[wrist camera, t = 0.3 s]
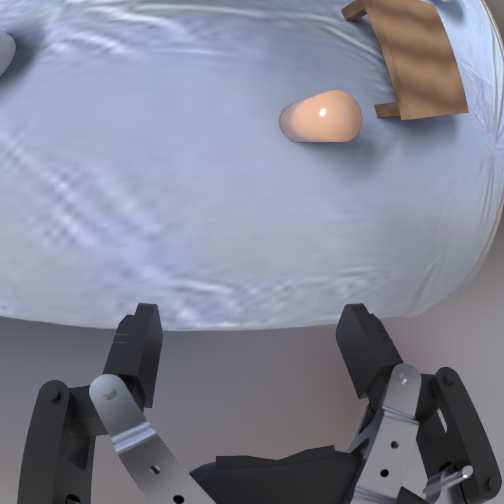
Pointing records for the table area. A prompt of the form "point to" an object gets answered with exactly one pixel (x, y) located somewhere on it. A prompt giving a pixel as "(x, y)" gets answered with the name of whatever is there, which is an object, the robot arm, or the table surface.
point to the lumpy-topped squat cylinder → (6, 50)
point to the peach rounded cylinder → (322, 118)
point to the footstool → (414, 58)
